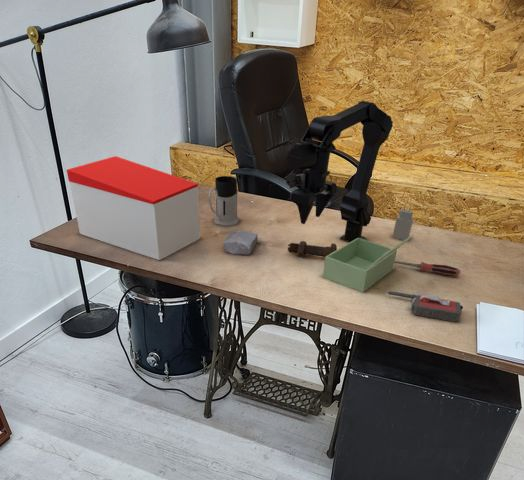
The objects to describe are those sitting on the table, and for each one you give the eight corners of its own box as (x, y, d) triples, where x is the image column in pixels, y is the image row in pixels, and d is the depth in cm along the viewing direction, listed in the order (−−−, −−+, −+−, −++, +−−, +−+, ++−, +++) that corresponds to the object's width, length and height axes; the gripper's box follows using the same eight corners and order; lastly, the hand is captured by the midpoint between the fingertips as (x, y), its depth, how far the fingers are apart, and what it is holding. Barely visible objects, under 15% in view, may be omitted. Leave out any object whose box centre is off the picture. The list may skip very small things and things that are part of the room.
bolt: (288, 257, 154) (334, 263, 151) (285, 255, 149) (332, 261, 146) (291, 239, 154) (337, 245, 150) (288, 237, 149) (335, 242, 145)
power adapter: (394, 234, 169) (401, 201, 162) (409, 237, 167) (417, 204, 160) (391, 237, 166) (399, 203, 159) (407, 241, 165) (415, 207, 157)
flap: (413, 234, 137) (414, 235, 137) (397, 247, 142) (398, 248, 142) (383, 254, 125) (384, 255, 125) (366, 268, 130) (367, 269, 130)
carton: (354, 256, 153) (357, 237, 149) (392, 269, 146) (397, 250, 142) (322, 276, 140) (325, 256, 137) (362, 292, 134) (366, 271, 130)
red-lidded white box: (123, 215, 173) (115, 155, 161) (200, 238, 159) (197, 175, 147) (78, 233, 159) (65, 169, 146) (159, 260, 145) (152, 192, 133)
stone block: (222, 257, 152) (252, 255, 150) (219, 243, 150) (249, 241, 147) (231, 244, 162) (260, 242, 159) (229, 230, 159) (257, 228, 157)
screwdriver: (376, 265, 148) (378, 256, 146) (377, 261, 150) (379, 252, 149) (458, 279, 143) (461, 270, 141) (458, 275, 145) (461, 266, 143)
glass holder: (243, 220, 174) (243, 178, 165) (220, 232, 164) (219, 188, 155) (223, 214, 178) (223, 174, 169) (200, 226, 168) (198, 183, 159)
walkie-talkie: (461, 307, 129) (386, 294, 133) (465, 293, 126) (389, 280, 131) (462, 324, 122) (384, 310, 126) (467, 309, 120) (387, 295, 124)
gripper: (309, 156, 145) (302, 207, 154) (277, 165, 132) (271, 220, 141) (341, 164, 141) (332, 215, 149) (311, 174, 127) (304, 230, 136)
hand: (310, 220), depth 144 cm, fingers open, 9 cm apart
